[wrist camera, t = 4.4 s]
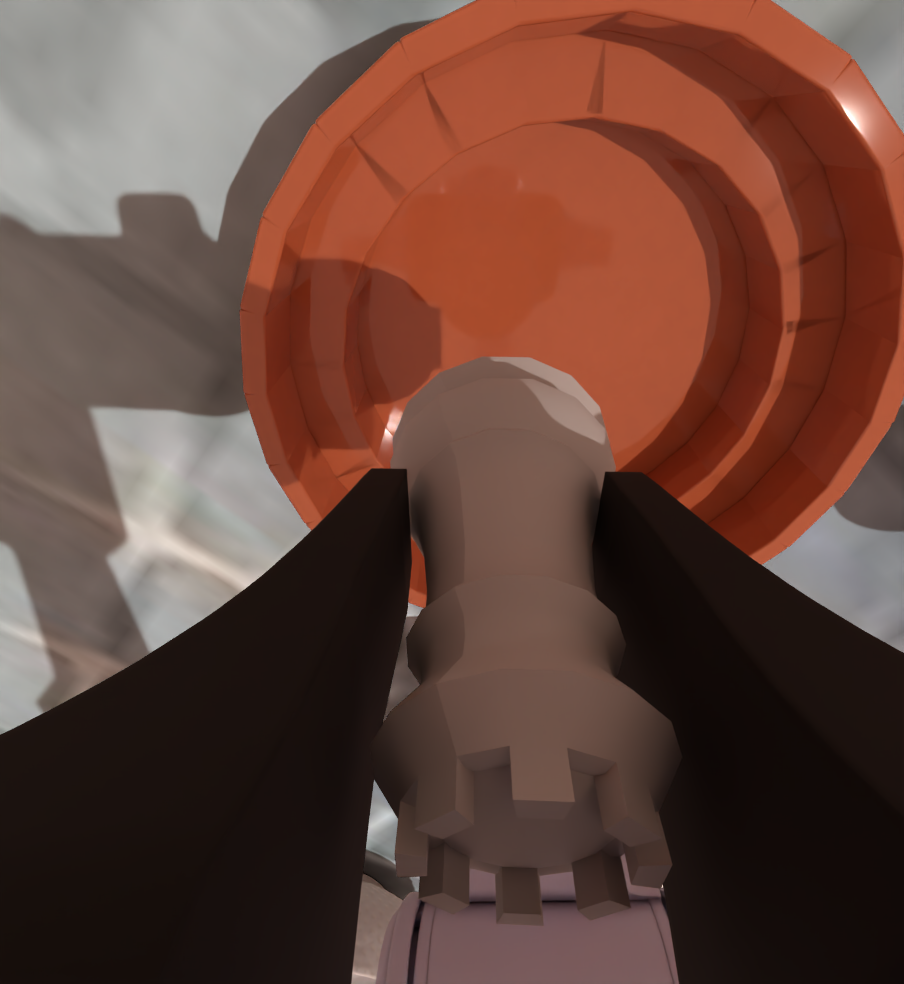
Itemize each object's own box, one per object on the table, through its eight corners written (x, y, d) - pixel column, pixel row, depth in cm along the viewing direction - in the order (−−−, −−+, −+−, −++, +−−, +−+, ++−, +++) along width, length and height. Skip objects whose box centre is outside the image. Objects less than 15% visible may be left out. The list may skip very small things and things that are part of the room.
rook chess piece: (351, 418, 11) (179, 824, 5) (542, 299, 10) (677, 642, 3) (466, 558, 13) (458, 982, 7) (639, 476, 12) (845, 912, 5)
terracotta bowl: (686, 567, 23) (731, 661, 19) (293, 507, 22) (252, 593, 18) (942, 90, 14) (1134, 74, 10) (297, -50, 13) (215, -131, 9)
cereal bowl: (454, 844, 37) (450, 981, 31) (438, 938, 46) (433, 1057, 40) (199, 825, 36) (146, 959, 30) (235, 923, 46) (199, 1041, 40)
